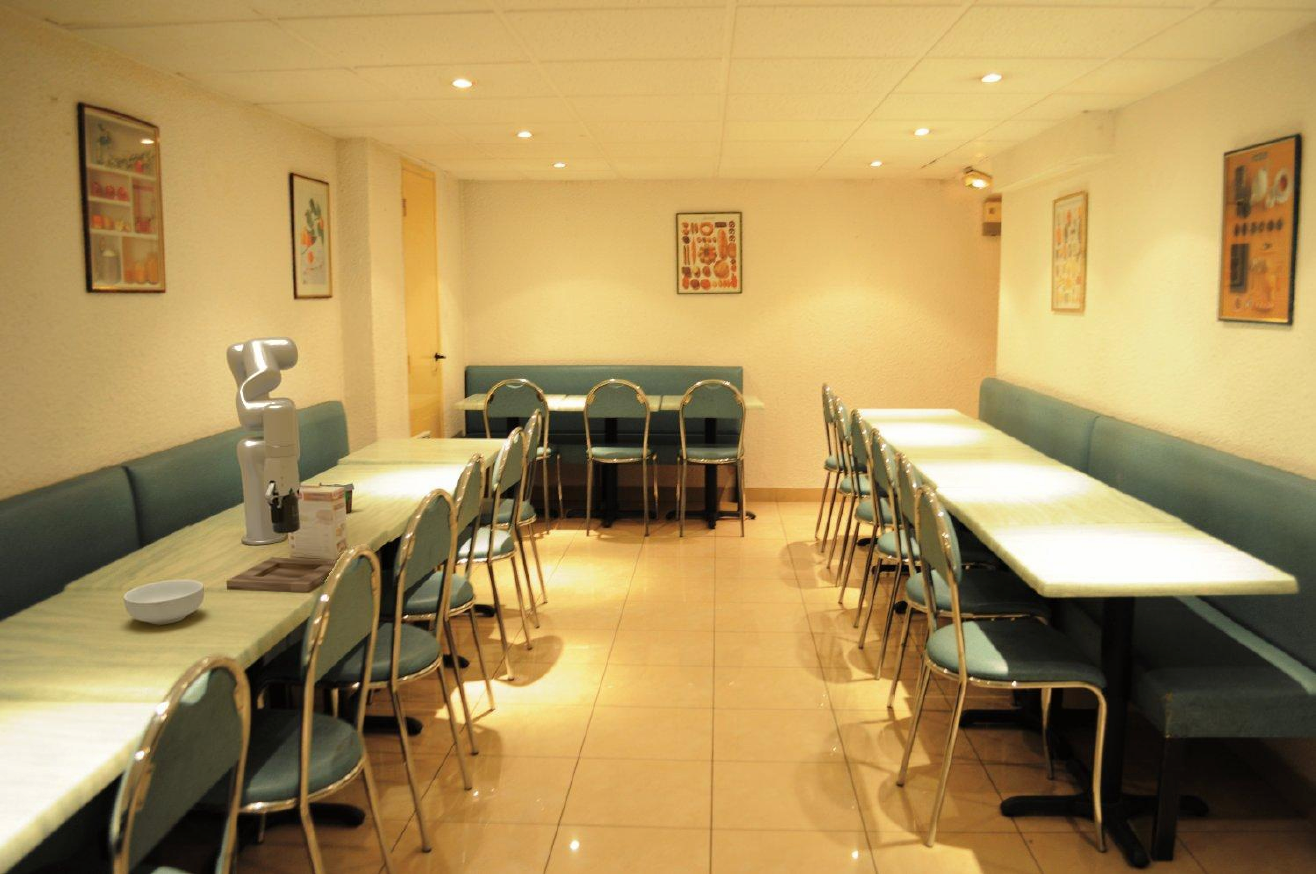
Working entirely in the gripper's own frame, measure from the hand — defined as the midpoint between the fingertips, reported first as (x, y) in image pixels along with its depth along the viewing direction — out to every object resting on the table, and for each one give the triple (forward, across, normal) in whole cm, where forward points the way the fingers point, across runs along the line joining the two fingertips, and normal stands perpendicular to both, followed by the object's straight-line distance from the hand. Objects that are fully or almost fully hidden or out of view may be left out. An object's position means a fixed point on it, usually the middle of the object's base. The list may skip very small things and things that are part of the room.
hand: (285, 518), depth 268 cm
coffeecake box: (+16, -22, -3) cm, 28 cm away
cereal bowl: (+16, +34, -12) cm, 40 cm away
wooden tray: (+16, 0, 0) cm, 16 cm away
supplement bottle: (+3, 0, 0) cm, 3 cm away
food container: (+16, -71, -23) cm, 76 cm away
